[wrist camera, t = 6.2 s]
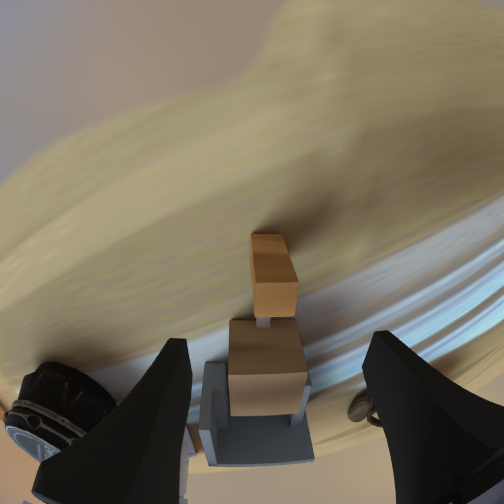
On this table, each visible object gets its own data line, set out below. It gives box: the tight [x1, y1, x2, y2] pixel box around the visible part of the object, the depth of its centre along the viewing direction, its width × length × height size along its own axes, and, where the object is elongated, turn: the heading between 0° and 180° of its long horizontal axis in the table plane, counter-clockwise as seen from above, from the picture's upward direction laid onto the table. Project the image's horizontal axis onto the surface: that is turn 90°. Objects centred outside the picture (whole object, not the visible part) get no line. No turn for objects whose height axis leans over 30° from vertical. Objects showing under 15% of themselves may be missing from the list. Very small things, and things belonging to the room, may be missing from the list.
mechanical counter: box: [348, 395, 382, 427], centre depth 25 cm, size 7×13×10 cm
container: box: [4, 362, 116, 463], centre depth 22 cm, size 13×13×10 cm
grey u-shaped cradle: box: [198, 360, 315, 467], centre depth 22 cm, size 8×10×7 cm
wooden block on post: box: [228, 234, 308, 416], centre depth 19 cm, size 12×5×6 cm, turn 179°
